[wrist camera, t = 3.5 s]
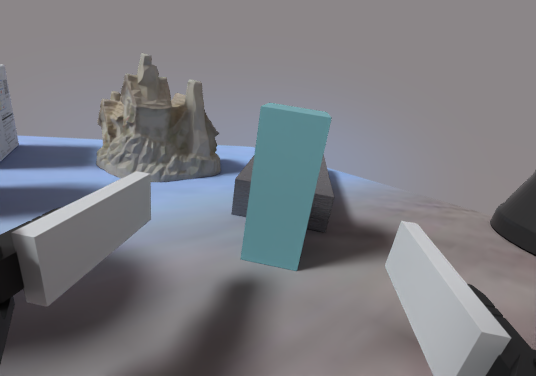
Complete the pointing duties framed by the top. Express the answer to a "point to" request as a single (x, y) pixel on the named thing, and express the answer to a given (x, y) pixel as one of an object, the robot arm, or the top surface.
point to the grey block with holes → (319, 204)
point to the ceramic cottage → (156, 130)
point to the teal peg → (283, 183)
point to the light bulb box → (6, 118)
